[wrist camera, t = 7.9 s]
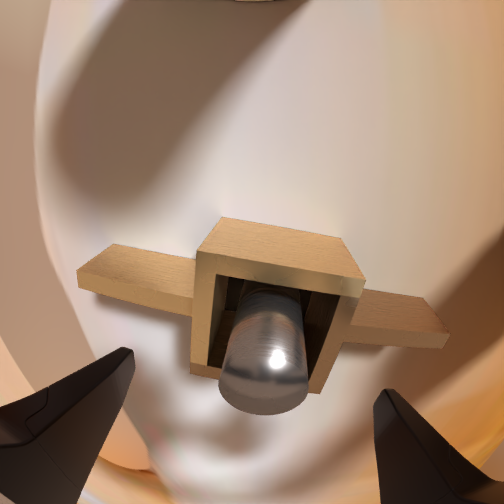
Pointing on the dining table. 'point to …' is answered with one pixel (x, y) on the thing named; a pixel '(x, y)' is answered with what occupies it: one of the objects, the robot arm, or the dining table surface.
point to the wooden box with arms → (273, 272)
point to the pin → (266, 351)
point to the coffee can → (254, 0)
